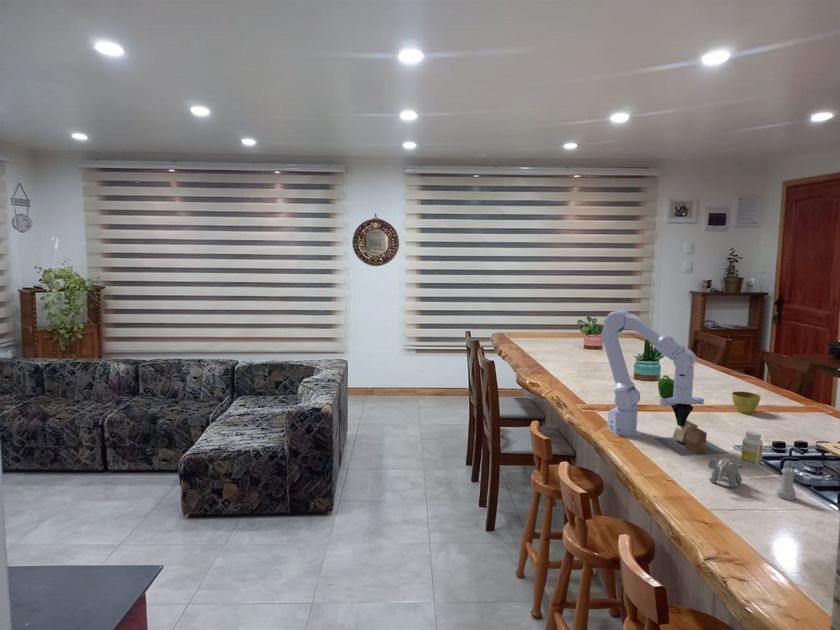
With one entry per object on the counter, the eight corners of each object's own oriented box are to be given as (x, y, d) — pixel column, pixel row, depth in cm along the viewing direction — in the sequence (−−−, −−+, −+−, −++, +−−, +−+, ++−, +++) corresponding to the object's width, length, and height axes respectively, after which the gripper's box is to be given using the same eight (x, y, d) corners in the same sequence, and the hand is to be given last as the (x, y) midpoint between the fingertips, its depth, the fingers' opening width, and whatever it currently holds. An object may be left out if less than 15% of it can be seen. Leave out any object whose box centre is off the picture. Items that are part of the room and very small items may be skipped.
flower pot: (763, 416, 219) (764, 398, 218) (735, 414, 221) (736, 397, 220) (753, 409, 229) (755, 392, 228) (726, 407, 231) (728, 390, 230)
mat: (680, 456, 178) (680, 455, 178) (653, 439, 193) (653, 438, 193) (729, 454, 180) (729, 453, 180) (698, 437, 196) (698, 436, 196)
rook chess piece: (788, 493, 152) (791, 465, 151) (799, 500, 148) (802, 472, 147) (772, 493, 152) (774, 465, 151) (783, 501, 148) (786, 472, 147)
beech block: (681, 441, 186) (689, 422, 186) (672, 436, 191) (680, 417, 191) (690, 444, 187) (697, 425, 187) (681, 439, 192) (688, 420, 191)
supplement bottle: (748, 466, 170) (751, 436, 169) (736, 459, 176) (739, 430, 174) (765, 465, 171) (767, 435, 170) (753, 459, 176) (755, 429, 175)
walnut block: (695, 454, 179) (696, 433, 178) (685, 448, 184) (687, 428, 183) (705, 453, 179) (706, 432, 178) (695, 448, 184) (697, 427, 183)
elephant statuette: (739, 481, 161) (741, 454, 160) (748, 496, 150) (750, 468, 149) (704, 476, 164) (705, 451, 163) (710, 491, 153) (711, 464, 152)
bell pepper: (673, 394, 250) (675, 373, 248) (680, 400, 242) (681, 377, 240) (654, 394, 251) (655, 372, 249) (660, 399, 242) (661, 376, 241)
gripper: (669, 390, 182) (667, 430, 184) (710, 388, 184) (708, 428, 185) (658, 384, 189) (655, 423, 190) (697, 383, 191) (694, 421, 192)
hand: (680, 425), depth 188 cm, fingers closed
